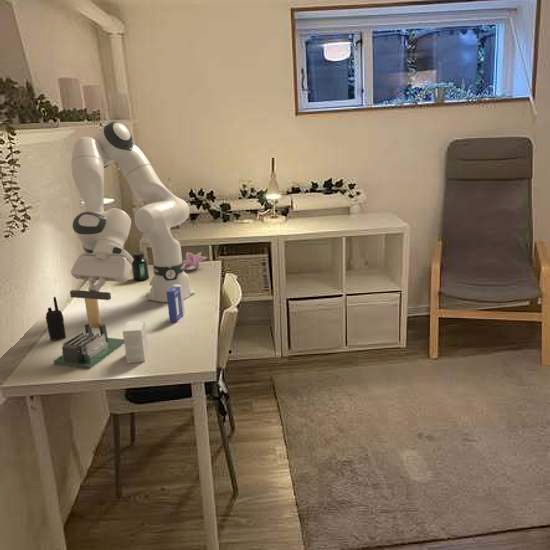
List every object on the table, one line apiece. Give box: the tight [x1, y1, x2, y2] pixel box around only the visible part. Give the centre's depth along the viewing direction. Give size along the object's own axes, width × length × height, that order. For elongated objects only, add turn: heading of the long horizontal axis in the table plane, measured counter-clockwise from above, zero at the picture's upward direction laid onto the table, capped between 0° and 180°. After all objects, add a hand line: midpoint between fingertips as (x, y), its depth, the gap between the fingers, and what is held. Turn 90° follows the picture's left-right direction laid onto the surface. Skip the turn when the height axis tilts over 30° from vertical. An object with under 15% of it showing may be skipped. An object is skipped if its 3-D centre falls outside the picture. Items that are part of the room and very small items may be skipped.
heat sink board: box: [53, 322, 125, 369], centre depth 178 cm, size 19×13×8 cm
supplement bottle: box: [131, 251, 150, 282], centre depth 252 cm, size 7×7×12 cm
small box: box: [122, 320, 149, 364], centre depth 174 cm, size 8×6×10 cm
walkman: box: [167, 285, 186, 323], centre depth 204 cm, size 8×3×12 cm, turn 167°
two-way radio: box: [45, 296, 66, 341], centre depth 189 cm, size 6×4×15 cm
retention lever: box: [69, 289, 112, 329], centre depth 179 cm, size 1×14×12 cm, turn 72°
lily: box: [182, 251, 208, 272], centre depth 261 cm, size 12×12×10 cm
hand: (93, 291), depth 180 cm, fingers closed
